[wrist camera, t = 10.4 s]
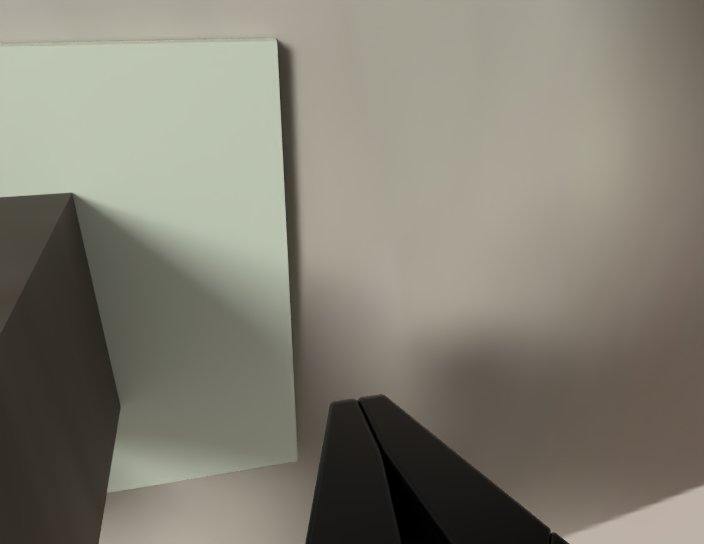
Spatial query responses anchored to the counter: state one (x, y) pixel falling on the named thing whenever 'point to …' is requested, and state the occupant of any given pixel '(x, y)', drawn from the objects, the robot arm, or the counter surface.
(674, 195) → the counter surface
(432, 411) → the counter surface
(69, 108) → the runner mat
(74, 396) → the tile
